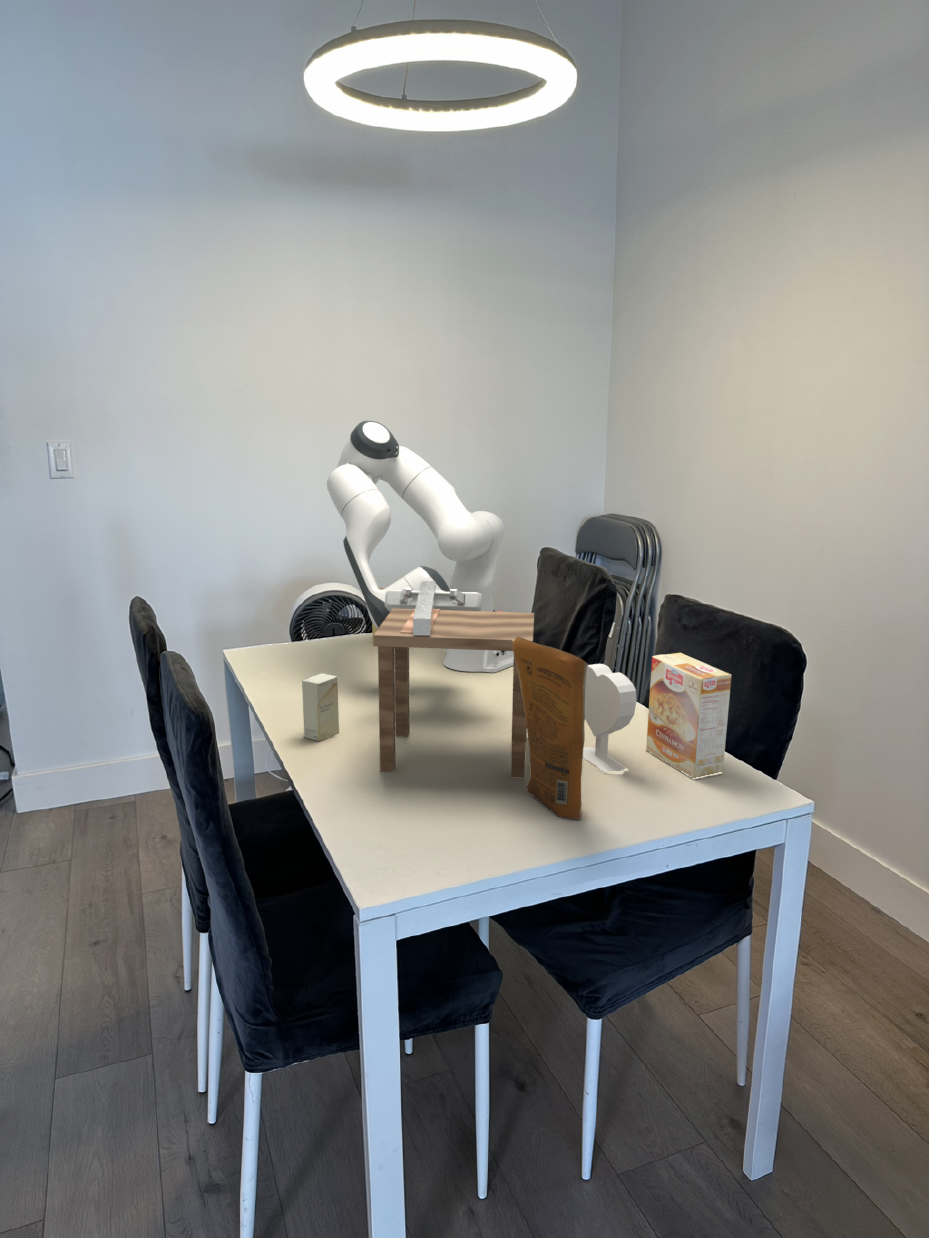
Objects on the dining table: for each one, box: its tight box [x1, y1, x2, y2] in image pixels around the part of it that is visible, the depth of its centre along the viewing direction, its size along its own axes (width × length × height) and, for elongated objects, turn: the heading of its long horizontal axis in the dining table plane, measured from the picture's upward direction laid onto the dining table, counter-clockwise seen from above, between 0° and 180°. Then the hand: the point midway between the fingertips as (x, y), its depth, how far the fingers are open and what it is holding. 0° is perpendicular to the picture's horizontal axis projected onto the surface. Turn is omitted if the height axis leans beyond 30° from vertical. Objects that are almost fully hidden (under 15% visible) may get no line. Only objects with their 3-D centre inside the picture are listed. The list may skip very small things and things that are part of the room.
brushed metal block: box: [413, 581, 436, 635], centre depth 165 cm, size 32×3×3 cm, turn 0°
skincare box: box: [301, 672, 340, 742], centre depth 172 cm, size 6×4×12 cm
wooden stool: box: [372, 609, 535, 779], centre depth 162 cm, size 20×28×26 cm
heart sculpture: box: [583, 663, 637, 772], centre depth 161 cm, size 16×5×18 cm, turn 23°
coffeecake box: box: [645, 652, 732, 778], centre depth 160 cm, size 15×7×20 cm, turn 23°
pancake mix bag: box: [512, 636, 589, 820], centre depth 142 cm, size 7×19×28 cm, turn 26°
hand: (429, 592), depth 171 cm, fingers open, 8 cm apart
